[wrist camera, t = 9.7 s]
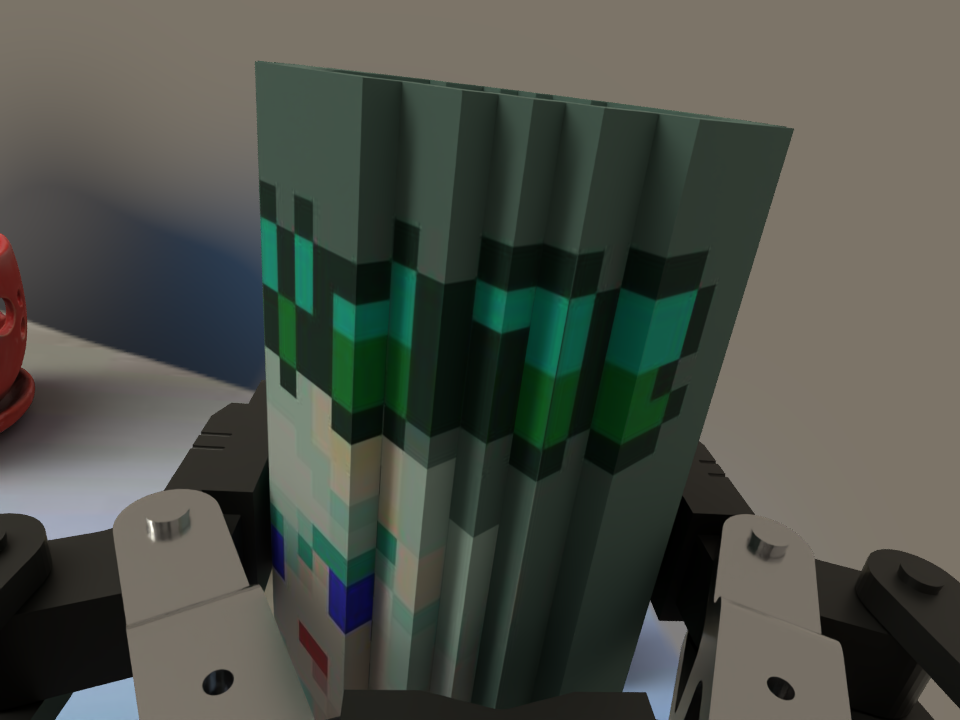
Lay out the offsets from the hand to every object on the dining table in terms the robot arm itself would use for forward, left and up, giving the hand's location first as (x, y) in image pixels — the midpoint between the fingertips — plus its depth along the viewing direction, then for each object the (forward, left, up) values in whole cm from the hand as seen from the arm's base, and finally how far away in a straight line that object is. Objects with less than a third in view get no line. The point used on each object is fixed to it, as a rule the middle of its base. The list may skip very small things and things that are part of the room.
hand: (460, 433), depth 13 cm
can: (-2, 0, -9) cm, 9 cm away
